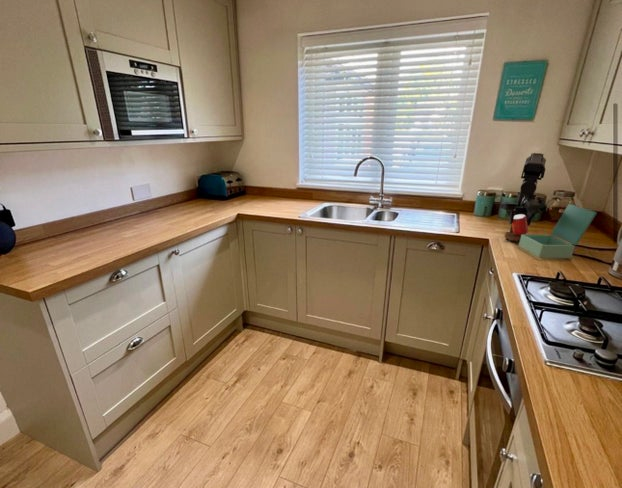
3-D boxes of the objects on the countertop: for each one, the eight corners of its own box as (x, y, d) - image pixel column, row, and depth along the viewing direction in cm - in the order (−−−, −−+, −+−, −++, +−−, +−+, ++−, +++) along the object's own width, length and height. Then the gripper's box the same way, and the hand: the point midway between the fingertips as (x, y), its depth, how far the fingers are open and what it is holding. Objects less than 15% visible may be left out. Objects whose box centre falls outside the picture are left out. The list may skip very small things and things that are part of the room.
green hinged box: (538, 259, 139) (542, 245, 136) (518, 247, 152) (521, 234, 150) (570, 260, 139) (575, 246, 136) (547, 247, 152) (551, 234, 150)
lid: (595, 212, 131) (597, 212, 131) (568, 203, 144) (570, 204, 145) (574, 244, 136) (576, 245, 136) (550, 233, 150) (552, 234, 150)
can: (510, 232, 159) (508, 217, 157) (523, 228, 159) (520, 212, 156) (518, 236, 154) (516, 220, 151) (531, 232, 153) (529, 215, 150)
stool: (499, 239, 162) (501, 232, 161) (517, 239, 163) (519, 232, 161) (509, 245, 154) (511, 238, 153) (528, 245, 154) (530, 238, 153)
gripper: (517, 194, 141) (508, 229, 147) (560, 195, 142) (549, 229, 148) (503, 189, 152) (495, 222, 158) (543, 190, 152) (534, 222, 158)
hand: (518, 224), depth 155 cm, fingers closed on can, 7 cm apart
